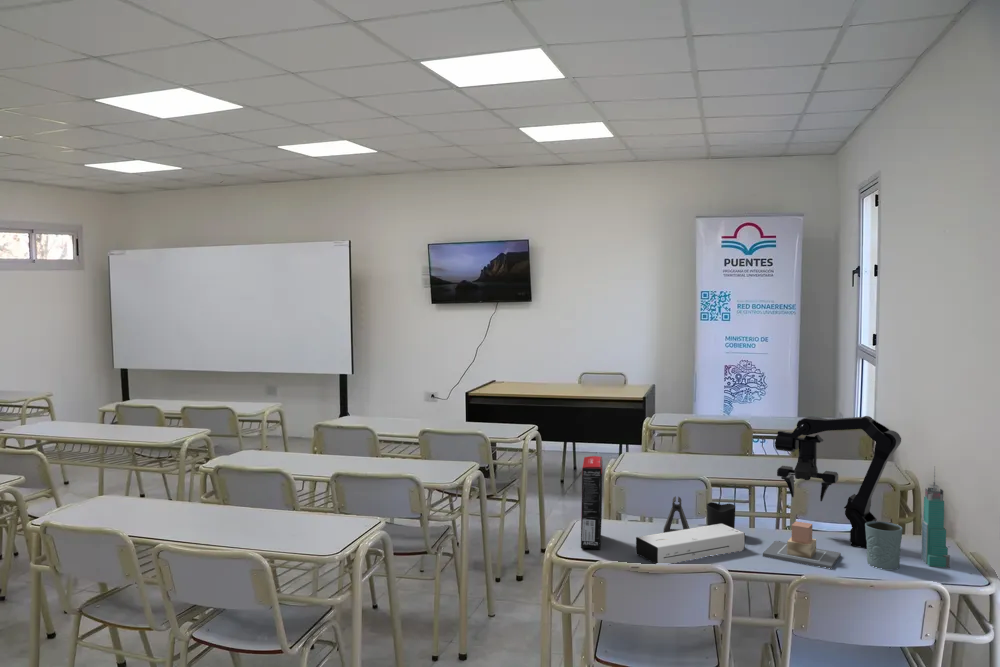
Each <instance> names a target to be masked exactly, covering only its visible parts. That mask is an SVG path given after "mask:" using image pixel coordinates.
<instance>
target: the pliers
mask: <svg viewBox="0 0 1000 667" xmlns="http://www.w3.org/2000/svg"><path fill="white" fill-rule="evenodd" d="M676 502H677V503H676ZM671 506H672V507H671V509H670V510H669V514H668V517H667V519H666V522H665V524H664V526H663V532H662V533H666V532H672V531H678V530H681V529H678V528H677V529H676V528H671V526H672V523H673V520H674V516H675V513H676V512H678V514H679V517H680V522H681V525H682V530H684V529H691V527H690V526H689V522H688V520H687V518H686V515H685V512H684V509H683V507H682V498H681V497H680V496H677V497H676V496H673V498H672V505H671Z"/></svg>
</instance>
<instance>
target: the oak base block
mask: <svg viewBox="0 0 1000 667" xmlns="http://www.w3.org/2000/svg"><path fill="white" fill-rule="evenodd" d="M786 543H787V554H790V555H796V556H801V557H806V558H812V556H813V555H814V554H815V553H816V548H817V539H816V538H812V540H811V542H810V543H809V544H806V543H800V542H794V541H792V536H791V537H789V539H788V540H787V542H786Z"/></svg>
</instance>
